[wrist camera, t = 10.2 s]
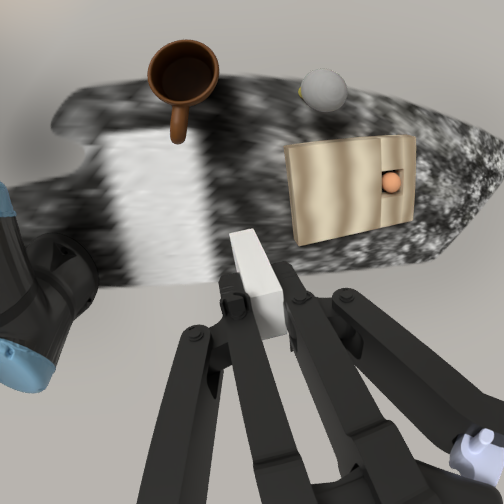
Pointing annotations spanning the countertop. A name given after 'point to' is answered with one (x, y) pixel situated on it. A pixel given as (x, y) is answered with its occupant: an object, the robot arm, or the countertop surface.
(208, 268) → the countertop surface
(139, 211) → the countertop surface
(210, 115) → the countertop surface
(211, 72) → the mug
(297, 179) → the wooden board with hole
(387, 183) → the ball
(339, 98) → the light bulb
